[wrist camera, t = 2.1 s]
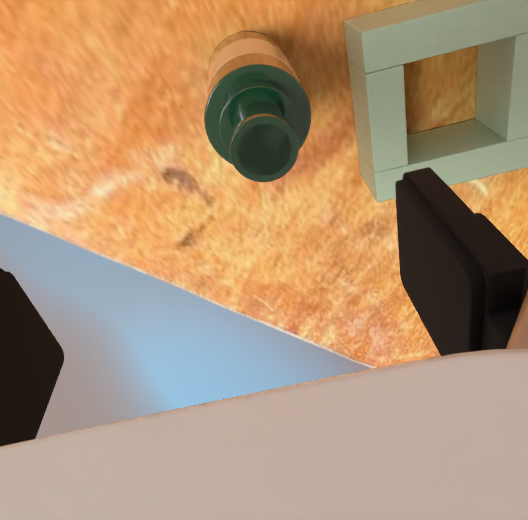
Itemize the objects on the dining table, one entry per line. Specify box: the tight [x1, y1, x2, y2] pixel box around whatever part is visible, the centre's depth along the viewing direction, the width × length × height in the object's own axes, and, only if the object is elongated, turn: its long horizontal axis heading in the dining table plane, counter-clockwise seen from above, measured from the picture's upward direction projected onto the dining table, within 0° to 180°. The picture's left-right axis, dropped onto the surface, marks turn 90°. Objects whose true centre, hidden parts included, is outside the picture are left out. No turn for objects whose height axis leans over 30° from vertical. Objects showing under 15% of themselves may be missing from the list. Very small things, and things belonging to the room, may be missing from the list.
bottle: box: [204, 31, 311, 182], centre depth 25 cm, size 5×5×13 cm
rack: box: [344, 0, 528, 202], centre depth 29 cm, size 11×19×4 cm, turn 103°
